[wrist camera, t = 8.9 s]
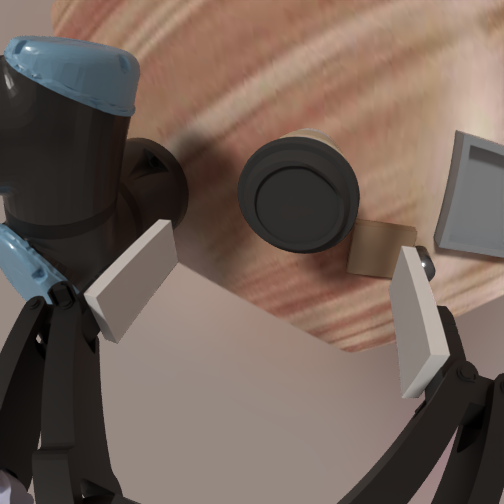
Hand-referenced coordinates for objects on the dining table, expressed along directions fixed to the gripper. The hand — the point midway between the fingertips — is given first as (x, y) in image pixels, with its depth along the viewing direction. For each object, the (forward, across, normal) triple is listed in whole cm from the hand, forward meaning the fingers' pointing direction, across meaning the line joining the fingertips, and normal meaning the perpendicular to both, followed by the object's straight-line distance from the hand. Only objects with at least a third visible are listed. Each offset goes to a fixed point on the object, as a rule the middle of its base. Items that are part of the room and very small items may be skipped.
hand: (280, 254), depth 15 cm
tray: (+20, +24, -1) cm, 31 cm away
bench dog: (+20, +16, -11) cm, 28 cm away
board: (+21, +10, -10) cm, 25 cm away
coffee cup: (+21, 0, 0) cm, 21 cm away
